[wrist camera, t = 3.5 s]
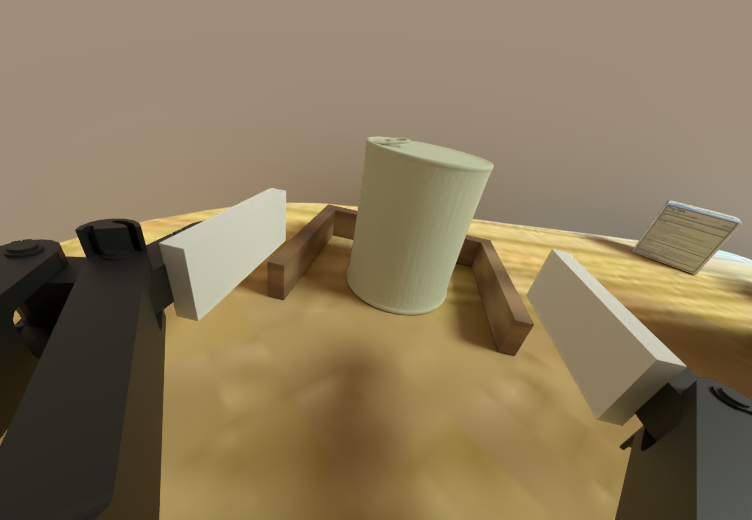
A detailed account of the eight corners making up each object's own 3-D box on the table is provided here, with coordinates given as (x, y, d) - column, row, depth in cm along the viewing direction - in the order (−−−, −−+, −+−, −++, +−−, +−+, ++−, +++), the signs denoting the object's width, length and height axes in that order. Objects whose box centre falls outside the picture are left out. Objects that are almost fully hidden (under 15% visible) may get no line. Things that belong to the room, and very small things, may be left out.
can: (338, 255, 27) (354, 124, 22) (421, 256, 30) (454, 141, 24) (357, 319, 20) (389, 144, 14) (464, 312, 23) (528, 165, 17)
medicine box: (694, 269, 43) (740, 217, 39) (695, 276, 40) (744, 222, 36) (633, 247, 48) (668, 199, 43) (630, 252, 45) (667, 201, 40)
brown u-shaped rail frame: (326, 228, 32) (328, 204, 31) (480, 263, 31) (490, 240, 30) (268, 296, 20) (267, 261, 19) (514, 355, 19) (534, 324, 18)
